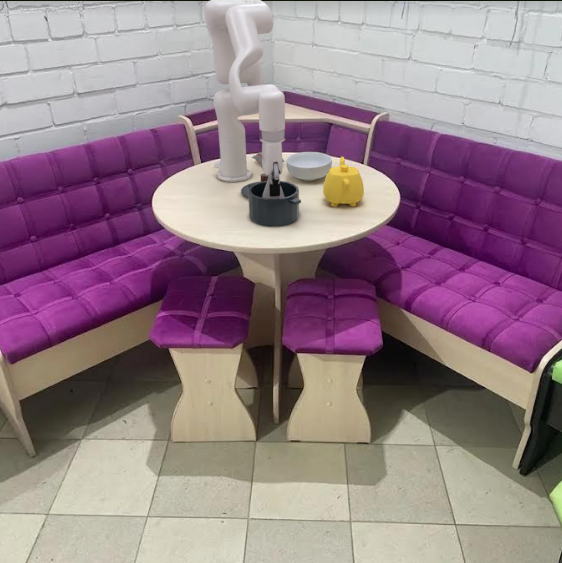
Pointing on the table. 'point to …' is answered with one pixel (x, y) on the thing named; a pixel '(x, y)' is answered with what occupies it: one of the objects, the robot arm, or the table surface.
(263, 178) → the pot lid
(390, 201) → the table surface
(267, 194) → the flask
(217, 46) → the robot arm
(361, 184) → the teapot
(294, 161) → the cereal bowl
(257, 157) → the packaged food
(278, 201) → the pot
